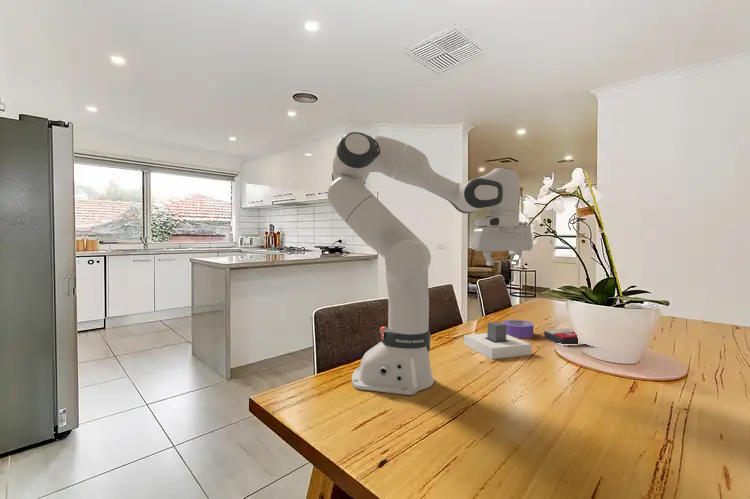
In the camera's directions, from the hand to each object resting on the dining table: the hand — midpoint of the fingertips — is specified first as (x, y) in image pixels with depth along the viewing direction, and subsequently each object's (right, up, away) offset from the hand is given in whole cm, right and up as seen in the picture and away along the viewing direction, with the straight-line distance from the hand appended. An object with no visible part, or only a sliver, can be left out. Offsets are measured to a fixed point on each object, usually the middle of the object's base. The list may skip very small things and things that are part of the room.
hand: (502, 265), depth 108 cm
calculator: (+36, -31, +26) cm, 55 cm away
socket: (+3, -31, +15) cm, 34 cm away
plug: (+3, -29, +15) cm, 33 cm away
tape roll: (+19, -31, +35) cm, 50 cm away
